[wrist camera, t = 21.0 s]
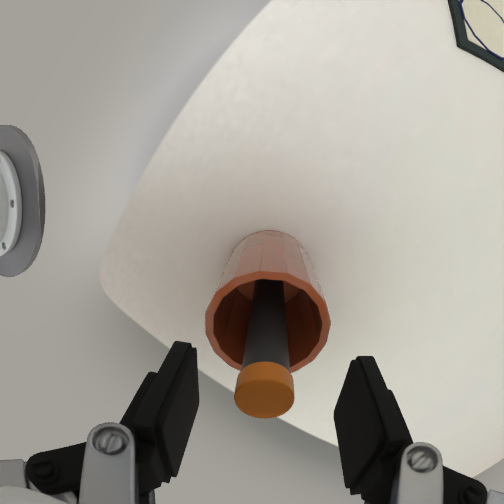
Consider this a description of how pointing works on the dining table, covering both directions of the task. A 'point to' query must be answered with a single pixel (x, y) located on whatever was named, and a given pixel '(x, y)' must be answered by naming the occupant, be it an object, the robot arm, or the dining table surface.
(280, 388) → the marker
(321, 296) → the pen cup
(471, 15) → the drawing mat
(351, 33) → the dining table surface
